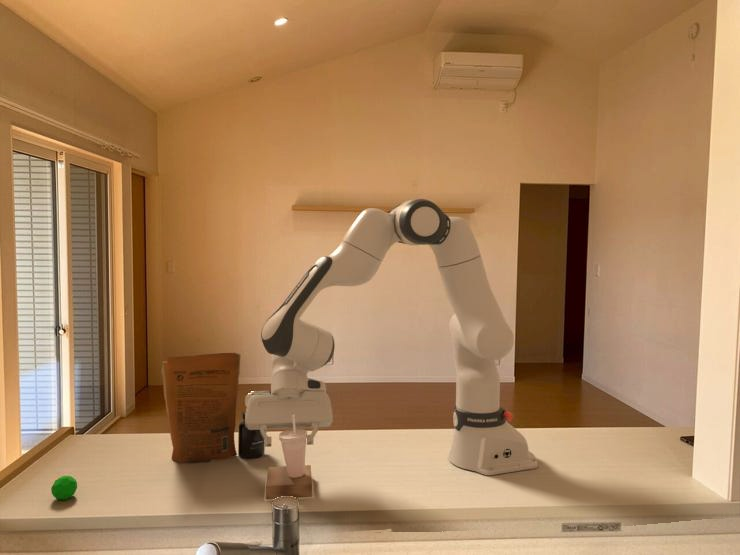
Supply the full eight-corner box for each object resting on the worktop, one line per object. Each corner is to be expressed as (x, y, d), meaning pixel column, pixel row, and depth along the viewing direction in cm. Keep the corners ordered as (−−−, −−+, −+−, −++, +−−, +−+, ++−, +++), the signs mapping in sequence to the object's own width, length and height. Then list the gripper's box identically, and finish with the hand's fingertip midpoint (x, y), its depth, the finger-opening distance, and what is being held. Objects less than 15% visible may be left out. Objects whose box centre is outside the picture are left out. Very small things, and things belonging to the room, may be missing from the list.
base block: (310, 477, 133) (310, 465, 133) (312, 496, 123) (312, 483, 123) (268, 479, 132) (268, 467, 131) (266, 499, 122) (265, 486, 121)
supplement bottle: (258, 462, 143) (258, 416, 142) (233, 459, 144) (233, 414, 143) (268, 451, 149) (268, 408, 148) (245, 449, 151) (244, 406, 150)
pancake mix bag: (241, 462, 142) (239, 354, 140) (162, 467, 139) (160, 356, 137) (242, 452, 149) (241, 349, 147) (168, 456, 146) (165, 351, 144)
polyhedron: (47, 503, 120) (46, 482, 120) (59, 493, 125) (58, 472, 125) (70, 503, 120) (69, 482, 120) (81, 493, 125) (81, 472, 125)
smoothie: (297, 482, 123) (293, 421, 122) (276, 477, 126) (271, 417, 125) (315, 471, 128) (311, 412, 127) (294, 466, 132) (290, 408, 130)
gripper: (244, 385, 131) (241, 440, 122) (331, 382, 134) (334, 436, 125) (246, 397, 136) (243, 452, 127) (330, 395, 138) (333, 448, 130)
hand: (289, 444), depth 126 cm, fingers open, 8 cm apart
